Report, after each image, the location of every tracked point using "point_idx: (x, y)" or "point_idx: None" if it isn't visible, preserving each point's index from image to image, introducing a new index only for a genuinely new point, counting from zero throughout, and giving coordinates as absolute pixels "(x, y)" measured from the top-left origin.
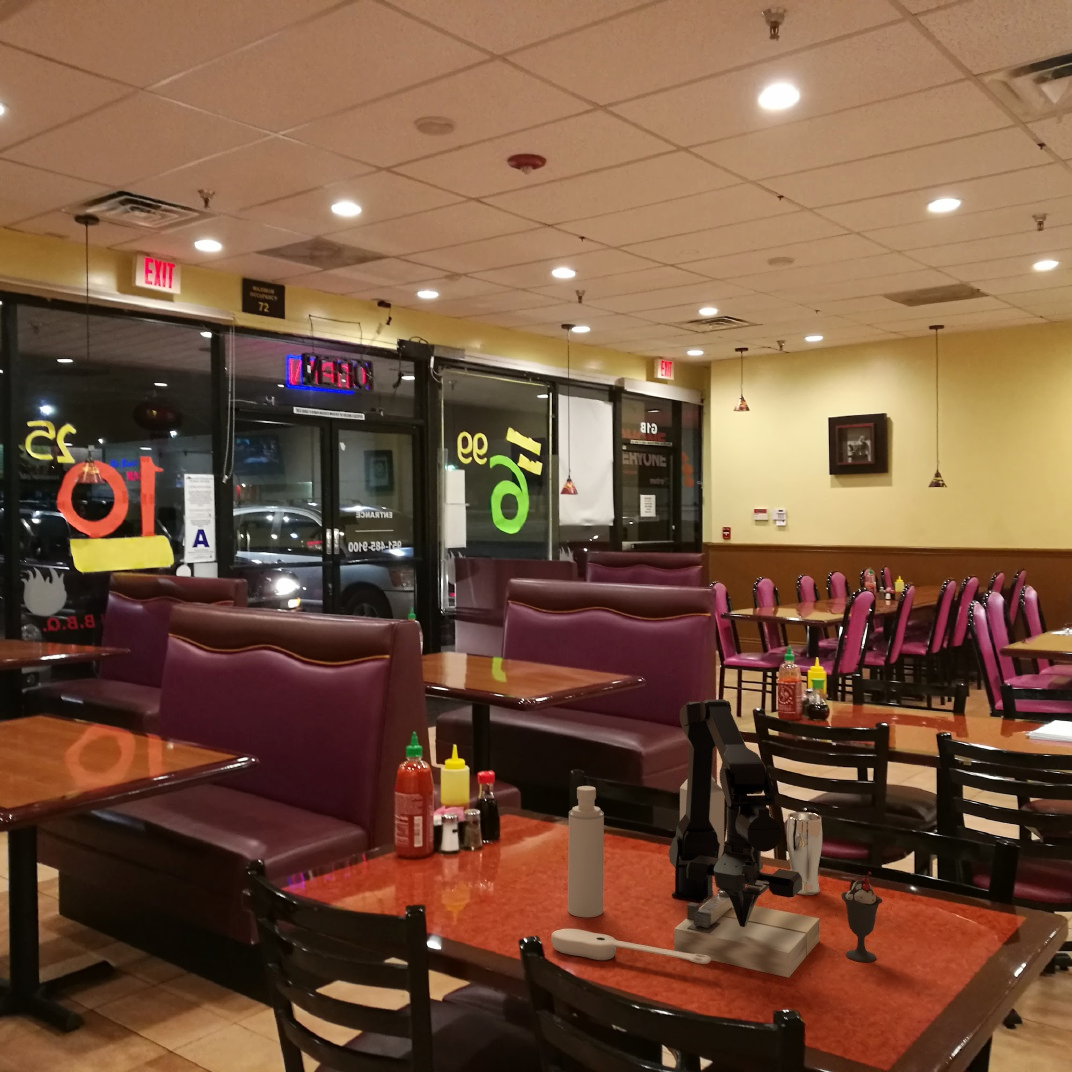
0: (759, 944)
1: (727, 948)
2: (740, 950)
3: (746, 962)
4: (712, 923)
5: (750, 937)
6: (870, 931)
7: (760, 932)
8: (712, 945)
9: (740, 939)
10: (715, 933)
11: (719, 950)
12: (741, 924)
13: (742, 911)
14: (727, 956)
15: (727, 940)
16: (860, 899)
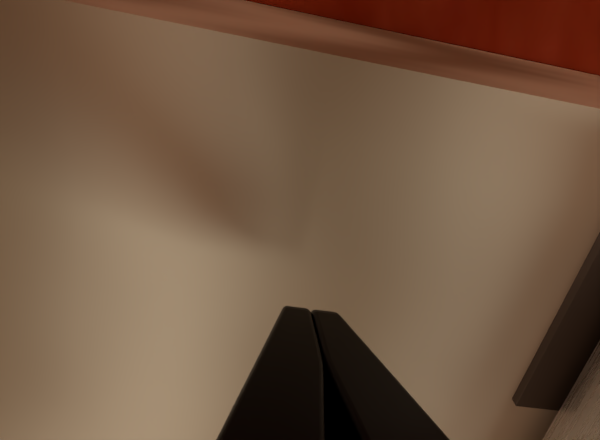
0: (68, 69)
1: (416, 56)
2: (285, 28)
3: (226, 2)
4: (597, 352)
5: (212, 226)
6: None
7: (153, 363)
8: (558, 82)
9: (303, 139)
10: (565, 200)
11: (480, 63)
12: (319, 317)
13: (321, 436)
14: (398, 42)
15: (439, 75)
16: None
